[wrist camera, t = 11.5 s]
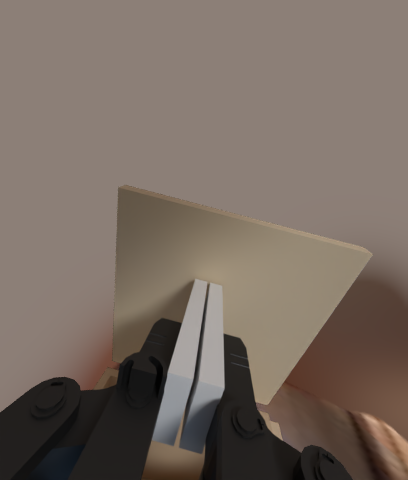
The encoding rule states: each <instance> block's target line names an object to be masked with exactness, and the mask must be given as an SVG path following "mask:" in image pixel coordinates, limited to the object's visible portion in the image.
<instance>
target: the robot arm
mask: <svg viewBox="0 0 408 480" xmlns="http://www.w3.org/2000/svg"><path fill="white" fill-rule="evenodd" d="M206 289H207V282H206V281H202V280H199V279H195V282H194V285H193V289H192V292H191V295H190V299H189V302H188V305H187V309H186V312H185V316H184V319H183V322H182V323H180V322H176V321H172V320H169V319H165V318H161V319H160V320H158V321H157V322H155V323H154V325H153V327H152V329H151V330H150V333H149V334H148V336H147V338H146V341H145V342H144V344H143V346H142V348H141V350H140V352H137V353H133V354H131V355H130V356H128V357H126V358H125V359H124V360H123V362H122V363H121V364H120V367H119V372H118V378H117V383H116V385H114V386H111V387H109V388H105V389H99V390H84V391H81V390H80V386H79V385H78V383H77V382H76V381H75V380H73V379H70V378H67V377H58V378H52V379H49V380H47V381H43V382H41V383H40V384H38V385H36V386H35V387H33V388H31V389H30V390H29V391H27V392H26V393H25V394H24V395H22V396H21V397H20V398H18V399H17V400H16V401H14V402H13V403H12V404H11V405H9V406H8V407H7V408H5V409H4V410H3V411H2V412H0V480H141V478H142V475H143V471H144V467H145V464H146V460H147V456H148V452H149V448H150V445H151V441H152V440H153V441H156V442H160V443H163V444H167V445H170V446H174V444H175V440H176V437H177V433H178V430H179V427H180V423H181V420H182V416H183V413H184V410H185V413H184V419H183V425H182V431H181V437H180V443H179V448H181V449H185V450H188V451H192V452H195V453H199V454H202V452H203V449H204V447H205V458H204V465H203V468H202V471H201V473H200V476H199V479H198V480H353V479H352V478H351V476H350V475H349V473H348V472H347V471H346V469H345V468H344V466H343V465H342V464H341V463H340V462H339V461H338V460H337V459H336V458H335V457H334V456H333V455H332V454H331V453H329V452H327V451H326V450H324V449H323V448H321V447H318V446H314V445H310V446H307V447H304V449H303V451H302V453H301V452H299V451H298V450H296V449H294V448H293V447H291V446H290V445H288V444H287V443H285V442H284V441H282V440H281V439H279V438H278V437H277V436H276V435H274V434H273V433H272V432H271V431H270V430H269V429H268V428H267V425H266V422H265V420H264V418H263V417H262V415H261V414H260V412H259V411H258V410H257V407H256V402H255V396H254V391H253V385H252V379H251V373H250V369H249V361H248V355H247V349H246V347H245V345H244V343H243V342H242V340H241V338H238V337H235V336H231V335H227V334H224V333H223V295H222V286H221V285H217V284H214V283H210V285H209V289H208V292H207V296H206ZM205 296H206V299H205Z"/></svg>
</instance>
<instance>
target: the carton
mask: <svg viewBox="0 0 408 480" xmlns="http://www.w3.org/2000/svg"><path fill="white" fill-rule="evenodd" d="M118 372H119V370H116V369H112V368H109V367H108V368H107V369H106V371H105V372H104V374H103V375H102V377H101V378H100V380H99V381H98V383H97V384H96V386H95V387H94V389H93V390H99V389H105V388H109V387H111V386H114V385H116V383H117V378H118ZM259 412H260V414H261V415H262V417H263V418H264V420H265V422H266V425H267V428H268V429H269V430H270V431H271V432H272V433H273V434H274V435H276V436H277V437H278V438H279V439H281V440H282V436H281V432H280V428H279V424H278V423H276V422H272V421H270V418H269V414H268V413H265V412H262V411H259ZM184 413H185V410H184ZM184 413H183V416H182V420H181V423H180V427H179V430H178V433H177V437H176V440H175V444H174V446H170V445H167V444H163V443H160V442H156V441H153V440H152V441H151V445H150V448H149V452H148V456H147V460H146V464H145V467H144V471H143V475H142V478H141V480H198V479H199V476H200V473H201V471H202V468H203V465H204V458H205V447H204V449H203V452H202V454H199V453H195V452H192V451H188V450H185V449H181V448H179V443H180V437H181V431H182V425H183V419H184ZM282 441H283V440H282Z"/></svg>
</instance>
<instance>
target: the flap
mask: <svg viewBox="0 0 408 480" xmlns="http://www.w3.org/2000/svg"><path fill="white" fill-rule="evenodd" d="M117 212H118V213H117V239H116V240H117V241H116V268H115V295H114V325H113V353H112V361H114V362H118V363H122V362H123V360H124V359H125V358H126V357H128V356H130V355H131V354H133V353H137V352H140V350H141V348H142V346H143V344H144V342H145V341H146V338H147V336H148V334H149V333H150V330H151V329H152V327H153V325H154V323H155V322H157V321H158V320H160V319H161V318H165V319H169V320H172V321H176V322H180V323H182V322H183V319H184V316H185V312H186V309H187V305H188V302H189V299H190V295H191V292H192V289H193V285H194V282H195V279H199V280H202V281H206V282H207V289H206V296H207V292H208V289H209V285H210V283H214V284H217V285H221V286H222V295H223V333H224V334H227V335H231V336H235V337H238V338H241V340H242V342H243V343H244V345H245V347H246V349H247V355H248V361H249V369H250V373H251V379H252V385H253V391H254V396H255V402H257V403H261V404H264V405H268V404H269V402H270V401H271V399H272V398H273V397H274V395H275V394H276V392H277V391H278V389H279V388H280V387H281V385H282V384H283V382H284V381H285V379H286V378H287V377H288V375H289V373H290V372H291V371H292V369H293V368H294V367H295V365H296V364H297V362H298V361H299V359H300V358H301V357H302V355H303V354H304V352H305V351H306V349H307V348H308V347H309V345H310V343H311V342H312V341H313V339H314V338H315V337H316V335H317V333H318V332H319V331H320V329H321V328H322V326H323V325H324V324H325V322H326V321H327V319H328V318H329V316H330V315H331V314H332V312H333V311H334V309H335V308H336V306H337V305H338V304H339V302H340V301H341V299H342V298H343V296H344V295H345V294H346V292H347V291H348V289H349V288H350V286H351V285H352V284H353V282H354V281H355V279H356V278H357V276H358V275H359V273H360V272H361V271H362V269H363V268H364V266H365V265H366V263H367V262H368V261H369V259H370V258H371V256H372V255H373V254H372V253H371V252H369V251H368V250H367V249H365V248H364V247H361V246H357V245H353V244H349V243H345V242H341V241H338V240H334V239H330V238H326V237H322V236H319V235H315V234H311V233H307V232H303V231H299V230H295V229H292V228H288V227H284V226H280V225H276V224H273V223H269V222H265V221H261V220H258V219H254V218H249V217H246V216H242V215H238V214H235V213H231V212H227V211H223V210H219V209H216V208H212V207H208V206H204V205H200V204H197V203H193V202H189V201H185V200H181V199H177V198H173V197H170V196H166V195H162V194H158V193H155V192H151V191H147V190H143V189H139V188H135V187H132V186H128V185H124V186H121V187H119V188H118V211H117ZM206 296H205V299H206Z"/></svg>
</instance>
